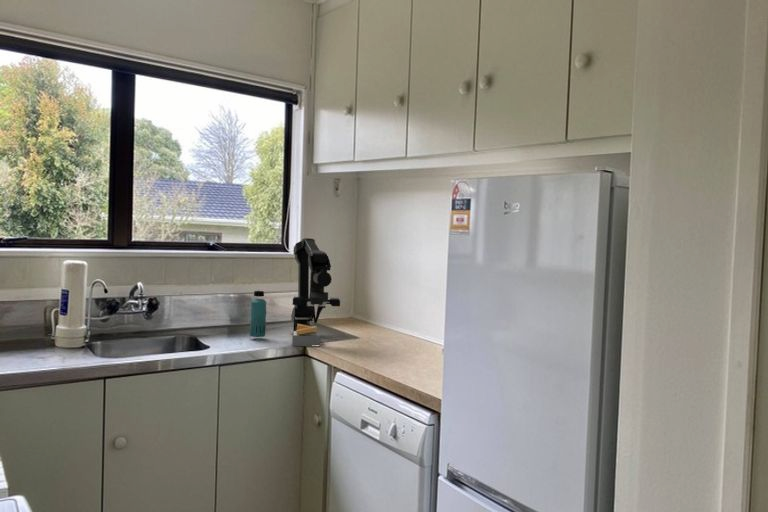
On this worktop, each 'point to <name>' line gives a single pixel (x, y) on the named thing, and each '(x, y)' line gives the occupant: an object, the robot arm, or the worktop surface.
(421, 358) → the worktop surface
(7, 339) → the worktop surface
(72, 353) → the worktop surface
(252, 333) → the beverage bottle
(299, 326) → the rocker far
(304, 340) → the grey square bin
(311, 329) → the rocker near
